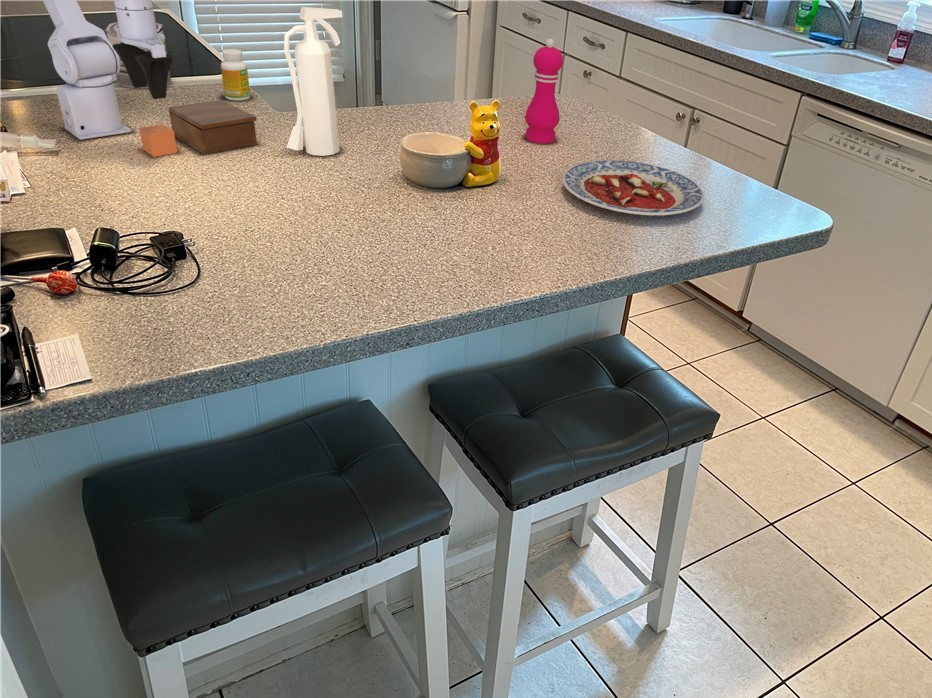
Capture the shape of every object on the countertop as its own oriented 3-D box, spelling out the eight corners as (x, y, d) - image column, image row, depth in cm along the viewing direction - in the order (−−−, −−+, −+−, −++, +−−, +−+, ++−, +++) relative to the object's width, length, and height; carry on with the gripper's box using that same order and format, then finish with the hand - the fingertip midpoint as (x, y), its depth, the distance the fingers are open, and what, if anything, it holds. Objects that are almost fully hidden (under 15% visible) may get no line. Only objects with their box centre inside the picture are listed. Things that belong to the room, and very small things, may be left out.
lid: (256, 120, 144) (256, 116, 144) (202, 129, 138) (201, 125, 137) (221, 103, 152) (221, 99, 151) (169, 111, 146) (168, 107, 145)
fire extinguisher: (280, 148, 147) (266, 4, 132) (340, 142, 152) (333, 3, 138) (292, 160, 142) (279, 12, 128) (353, 153, 148) (348, 10, 134)
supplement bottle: (246, 102, 169) (240, 55, 163) (221, 99, 168) (215, 52, 163) (253, 95, 173) (248, 49, 167) (229, 93, 173) (223, 47, 167)
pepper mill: (554, 146, 161) (565, 44, 150) (520, 141, 162) (529, 39, 150) (559, 136, 167) (571, 37, 155) (526, 131, 168) (535, 32, 156)
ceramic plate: (589, 228, 128) (591, 211, 126) (543, 172, 148) (544, 156, 146) (727, 223, 135) (731, 206, 133) (665, 170, 155) (668, 155, 153)
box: (257, 144, 147) (254, 121, 145) (204, 154, 141) (200, 130, 139) (224, 126, 154) (221, 104, 152) (173, 135, 148) (169, 111, 146)
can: (182, 83, 176) (173, 26, 169) (138, 92, 168) (127, 33, 161) (149, 72, 181) (139, 17, 174) (105, 81, 173) (93, 23, 166)
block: (153, 157, 138) (149, 134, 136) (143, 149, 140) (138, 127, 138) (177, 152, 141) (173, 130, 138) (166, 145, 143) (163, 124, 141)
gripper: (177, 14, 125) (191, 100, 133) (139, -3, 133) (154, 79, 141) (133, 17, 121) (150, 105, 129) (97, 0, 129) (114, 84, 137)
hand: (149, 92), depth 135 cm, fingers open, 7 cm apart
